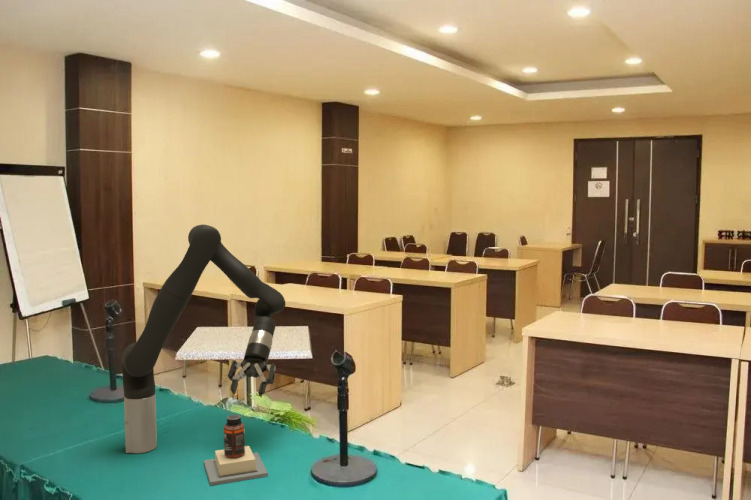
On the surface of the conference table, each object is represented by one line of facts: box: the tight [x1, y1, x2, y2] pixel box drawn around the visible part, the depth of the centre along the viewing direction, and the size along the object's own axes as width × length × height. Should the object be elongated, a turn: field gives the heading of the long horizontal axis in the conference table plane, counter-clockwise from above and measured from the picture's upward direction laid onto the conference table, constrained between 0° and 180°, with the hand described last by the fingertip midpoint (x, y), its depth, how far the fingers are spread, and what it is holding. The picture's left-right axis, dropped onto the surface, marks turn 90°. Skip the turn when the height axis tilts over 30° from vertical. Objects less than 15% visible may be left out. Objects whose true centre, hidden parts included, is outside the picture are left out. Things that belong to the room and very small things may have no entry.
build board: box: [203, 445, 269, 486], centre depth 184 cm, size 16×15×4 cm
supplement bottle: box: [223, 414, 246, 458], centre depth 184 cm, size 6×6×11 cm
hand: (246, 393), depth 194 cm, fingers open, 8 cm apart
